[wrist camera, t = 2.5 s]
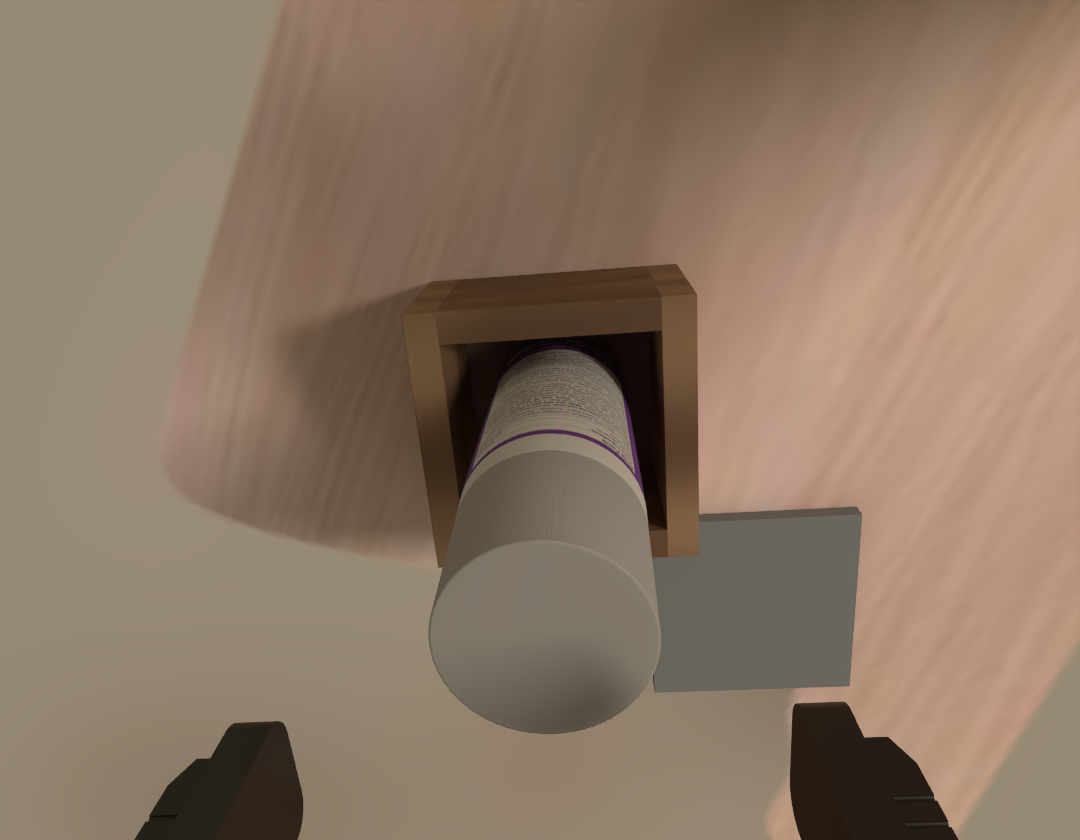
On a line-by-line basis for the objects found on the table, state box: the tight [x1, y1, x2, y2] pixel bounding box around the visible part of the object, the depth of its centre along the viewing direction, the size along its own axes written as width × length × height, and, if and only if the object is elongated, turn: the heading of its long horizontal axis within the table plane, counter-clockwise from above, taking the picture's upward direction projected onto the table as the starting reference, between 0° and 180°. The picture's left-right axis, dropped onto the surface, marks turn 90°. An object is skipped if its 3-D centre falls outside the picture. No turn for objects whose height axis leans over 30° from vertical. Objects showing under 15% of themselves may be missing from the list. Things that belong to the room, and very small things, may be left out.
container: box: [429, 335, 661, 734], centre depth 22 cm, size 5×5×15 cm
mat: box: [652, 507, 862, 692], centre depth 31 cm, size 8×8×1 cm
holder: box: [401, 264, 699, 568], centre depth 26 cm, size 9×9×5 cm
